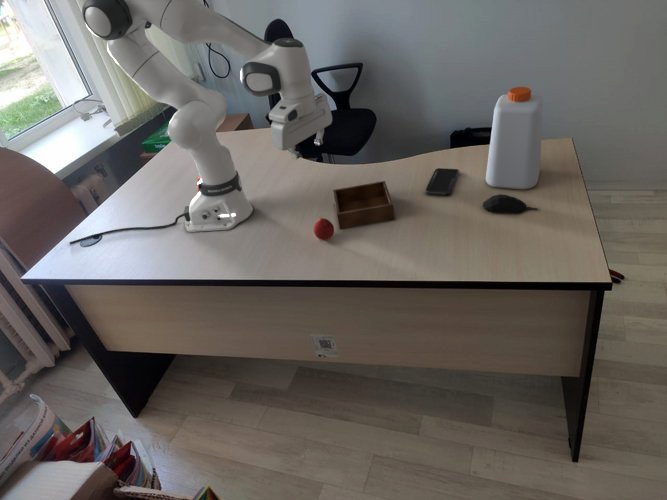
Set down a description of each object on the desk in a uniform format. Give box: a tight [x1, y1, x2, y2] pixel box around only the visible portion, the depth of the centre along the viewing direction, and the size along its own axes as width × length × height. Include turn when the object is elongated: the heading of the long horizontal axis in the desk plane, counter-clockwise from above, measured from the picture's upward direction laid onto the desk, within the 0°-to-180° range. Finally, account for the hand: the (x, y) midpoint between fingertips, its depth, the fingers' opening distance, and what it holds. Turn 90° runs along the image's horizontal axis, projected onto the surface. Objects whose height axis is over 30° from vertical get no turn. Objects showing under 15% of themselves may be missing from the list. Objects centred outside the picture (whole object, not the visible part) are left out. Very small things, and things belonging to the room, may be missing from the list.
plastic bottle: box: [485, 86, 544, 190], centre depth 141 cm, size 15×15×28 cm
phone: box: [425, 167, 460, 197], centre depth 153 cm, size 8×1×15 cm
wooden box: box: [332, 180, 396, 230], centre depth 146 cm, size 17×15×5 cm
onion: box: [313, 216, 335, 242], centre depth 136 cm, size 6×6×8 cm
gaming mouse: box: [482, 193, 538, 214], centre depth 136 cm, size 6×15×4 cm, turn 71°
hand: (308, 151), depth 134 cm, fingers open, 8 cm apart
